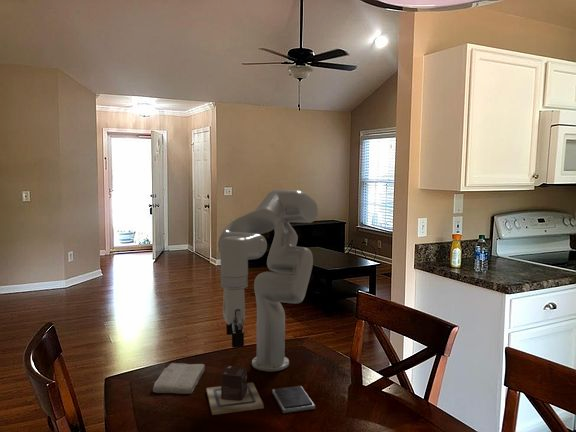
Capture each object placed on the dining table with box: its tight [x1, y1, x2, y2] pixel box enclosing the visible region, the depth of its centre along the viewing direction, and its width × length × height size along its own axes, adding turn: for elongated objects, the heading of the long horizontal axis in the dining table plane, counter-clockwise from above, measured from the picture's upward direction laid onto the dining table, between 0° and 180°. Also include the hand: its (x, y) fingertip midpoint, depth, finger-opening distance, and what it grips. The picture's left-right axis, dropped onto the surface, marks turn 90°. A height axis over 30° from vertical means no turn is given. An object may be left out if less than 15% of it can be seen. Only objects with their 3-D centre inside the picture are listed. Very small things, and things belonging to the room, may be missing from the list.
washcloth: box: [152, 362, 206, 395], centre depth 140 cm, size 12×18×3 cm, turn 178°
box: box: [220, 365, 248, 401], centre depth 128 cm, size 6×6×7 cm
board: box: [206, 382, 265, 416], centre depth 128 cm, size 14×14×1 cm
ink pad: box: [271, 385, 316, 414], centre depth 128 cm, size 12×9×1 cm
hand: (234, 340), depth 127 cm, fingers open, 9 cm apart
